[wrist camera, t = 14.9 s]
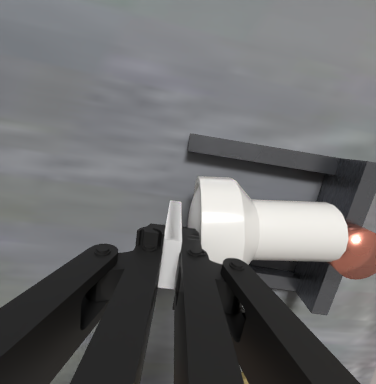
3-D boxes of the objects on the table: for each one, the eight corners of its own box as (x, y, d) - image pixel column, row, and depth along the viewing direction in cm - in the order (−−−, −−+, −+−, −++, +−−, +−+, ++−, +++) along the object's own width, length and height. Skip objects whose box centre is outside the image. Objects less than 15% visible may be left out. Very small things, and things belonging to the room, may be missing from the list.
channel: (169, 266, 22) (163, 307, 16) (190, 133, 19) (191, 130, 13) (313, 286, 23) (353, 332, 17) (358, 162, 19) (426, 170, 14)
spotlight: (189, 163, 18) (194, 205, 11) (313, 168, 19) (398, 213, 11) (185, 237, 21) (186, 308, 14) (290, 240, 22) (344, 311, 14)
